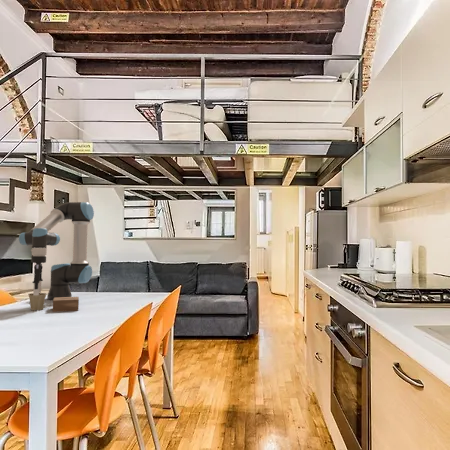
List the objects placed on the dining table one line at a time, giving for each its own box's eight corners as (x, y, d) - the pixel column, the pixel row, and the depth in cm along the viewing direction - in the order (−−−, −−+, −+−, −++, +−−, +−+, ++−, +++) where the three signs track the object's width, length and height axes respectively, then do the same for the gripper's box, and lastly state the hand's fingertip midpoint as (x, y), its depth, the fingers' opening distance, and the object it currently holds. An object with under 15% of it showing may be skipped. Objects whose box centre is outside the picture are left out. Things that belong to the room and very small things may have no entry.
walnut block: (53, 308, 227) (54, 297, 228) (78, 307, 232) (78, 296, 232) (52, 311, 215) (53, 300, 216) (78, 310, 220) (78, 299, 220)
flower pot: (49, 308, 226) (50, 293, 226) (40, 311, 216) (40, 295, 217) (33, 308, 227) (34, 292, 227) (24, 310, 217) (24, 294, 218)
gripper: (33, 255, 233) (32, 291, 232) (29, 256, 210) (27, 296, 209) (47, 255, 236) (46, 291, 235) (44, 256, 213) (42, 296, 211)
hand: (37, 294), depth 222 cm, fingers open, 13 cm apart
